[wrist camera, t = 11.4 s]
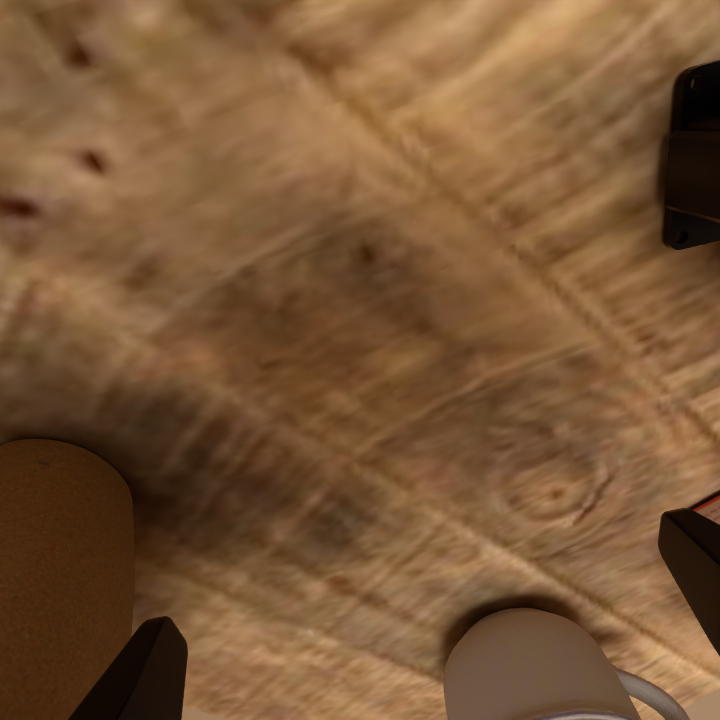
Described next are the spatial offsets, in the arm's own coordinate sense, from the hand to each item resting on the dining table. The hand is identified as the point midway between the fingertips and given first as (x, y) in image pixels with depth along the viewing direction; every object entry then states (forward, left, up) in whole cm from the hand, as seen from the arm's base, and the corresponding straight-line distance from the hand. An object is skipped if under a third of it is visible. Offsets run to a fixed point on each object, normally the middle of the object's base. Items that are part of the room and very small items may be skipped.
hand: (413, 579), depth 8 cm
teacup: (-6, +26, -13) cm, 30 cm away
